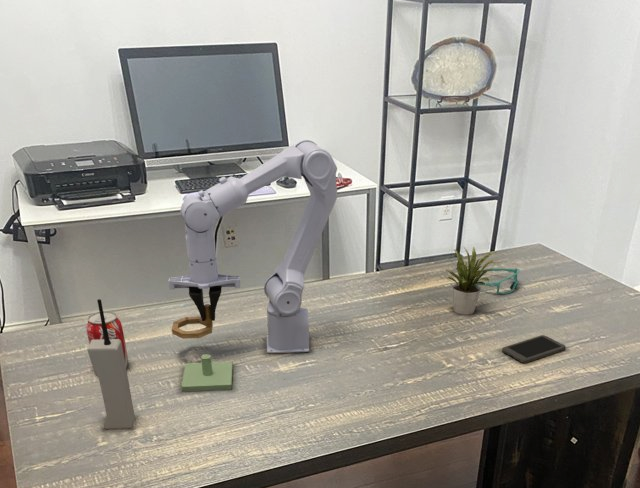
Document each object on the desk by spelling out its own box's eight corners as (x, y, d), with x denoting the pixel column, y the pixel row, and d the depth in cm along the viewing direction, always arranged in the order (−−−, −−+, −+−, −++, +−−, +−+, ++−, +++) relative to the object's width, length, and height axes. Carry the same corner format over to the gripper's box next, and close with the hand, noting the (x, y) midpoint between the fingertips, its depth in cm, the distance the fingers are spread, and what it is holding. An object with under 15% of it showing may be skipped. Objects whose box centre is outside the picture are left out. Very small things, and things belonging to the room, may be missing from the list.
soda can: (136, 364, 147) (127, 312, 140) (116, 379, 141) (106, 326, 135) (108, 358, 149) (98, 307, 142) (88, 373, 143) (76, 321, 137)
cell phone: (500, 350, 156) (500, 347, 155) (543, 337, 162) (543, 334, 162) (523, 363, 150) (524, 360, 150) (566, 349, 157) (567, 346, 156)
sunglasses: (507, 298, 181) (508, 280, 179) (456, 291, 189) (456, 274, 186) (526, 282, 191) (527, 265, 189) (477, 276, 199) (477, 259, 196)
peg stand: (232, 366, 147) (231, 344, 144) (231, 389, 139) (229, 367, 136) (185, 368, 146) (183, 346, 143) (181, 391, 138) (178, 369, 135)
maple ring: (213, 321, 151) (211, 297, 148) (212, 337, 144) (209, 313, 141) (175, 322, 150) (171, 298, 147) (171, 339, 143) (167, 314, 140)
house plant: (505, 308, 176) (515, 247, 167) (484, 327, 166) (493, 262, 157) (455, 296, 182) (462, 236, 173) (432, 313, 173) (438, 250, 164)
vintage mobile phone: (108, 418, 129) (82, 295, 115) (135, 418, 129) (113, 294, 115) (104, 429, 126) (77, 303, 112) (131, 429, 126) (108, 303, 112)
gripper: (163, 265, 135) (172, 328, 142) (237, 263, 136) (242, 325, 144) (167, 253, 140) (175, 314, 148) (238, 252, 142) (242, 312, 149)
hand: (208, 319), depth 146 cm, fingers closed on maple ring
